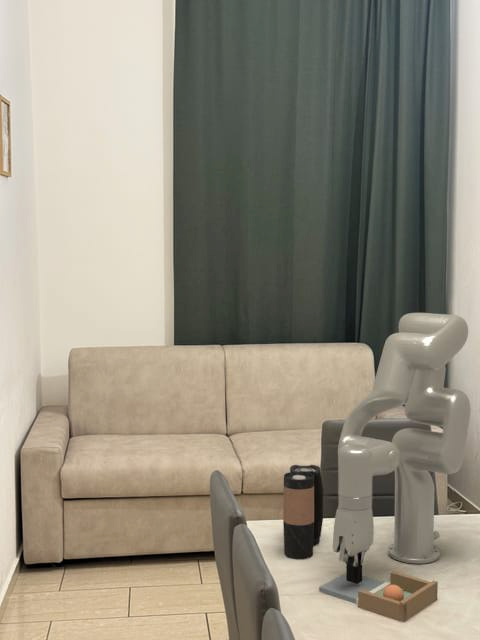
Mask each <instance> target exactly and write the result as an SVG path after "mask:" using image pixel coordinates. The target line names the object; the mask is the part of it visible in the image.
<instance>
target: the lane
mask: <svg viewBox="0 0 480 640" xmlns="http://www.w3.org/2000/svg"><path fill="white" fill-rule="evenodd" d="M389 585H397V586H399V587H400V588H401V589H402V591H403V593H404V599H403V600H402V601H397V600H393V599H390V598H387V597H384V596H383V591H384V589H385V588H386V587H387V586H389ZM438 586H439V582H438V581H437V580H432V581H430V580H425V579H422V578H419V577H415V576H411V575H408V574H405V573H402V572H398V571H394V570H393V571H390V582H387V581H384V580H381V579H377V578H374V577H370V576H367V575H365V574H362V582H359V583H358V584H356V583H353V582H350V581H347V580H346V572H344V573H343V574H341V575H339V576H337V577H336V578H333V579H332V580H330V581H328V582H326V583H324V584H322V585H320V586H319V587H318V591H319V592H320V593H323V594H326V595H329V596H332V597H335V598H338V599H342V600H343V601H348V602H351V603H354V604H357V607H358V608H360V609H363V610H366V611H369V612H372V613H376V614H378V615H381V616H385V617H387V618H390V619H393V620H397V621H400V622H402V623H404V622H406V621H407V620H409V619H410V618H412V617H413V616H415V615H417V614H418V613H419V612H421V611H422V610H424V609H425V608H426V607H428V606H430V605H432V604H433V603H434V602H436V601H437V600H438V591H439V590H438V588H439V587H438Z"/></svg>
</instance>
